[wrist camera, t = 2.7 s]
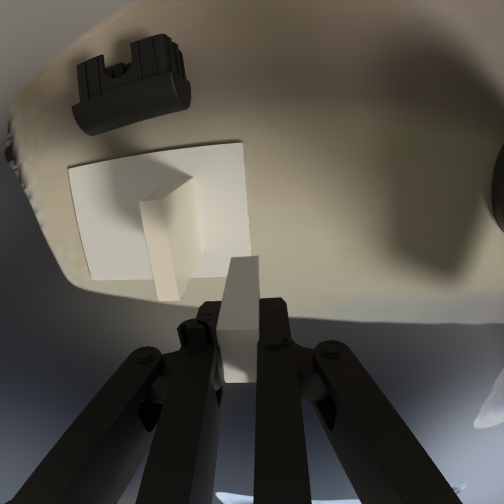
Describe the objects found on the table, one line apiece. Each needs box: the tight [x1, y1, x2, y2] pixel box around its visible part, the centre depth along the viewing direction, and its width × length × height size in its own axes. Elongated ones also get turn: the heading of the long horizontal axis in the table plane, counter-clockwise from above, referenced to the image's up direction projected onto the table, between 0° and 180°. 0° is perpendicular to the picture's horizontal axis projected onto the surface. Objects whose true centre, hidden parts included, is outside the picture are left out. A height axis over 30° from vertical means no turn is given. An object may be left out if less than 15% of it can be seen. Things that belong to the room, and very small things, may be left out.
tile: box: [139, 177, 203, 301], centre depth 26 cm, size 2×8×10 cm, turn 4°
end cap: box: [72, 34, 191, 136], centre depth 24 cm, size 10×7×7 cm
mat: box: [68, 142, 251, 280], centre depth 32 cm, size 20×14×1 cm
